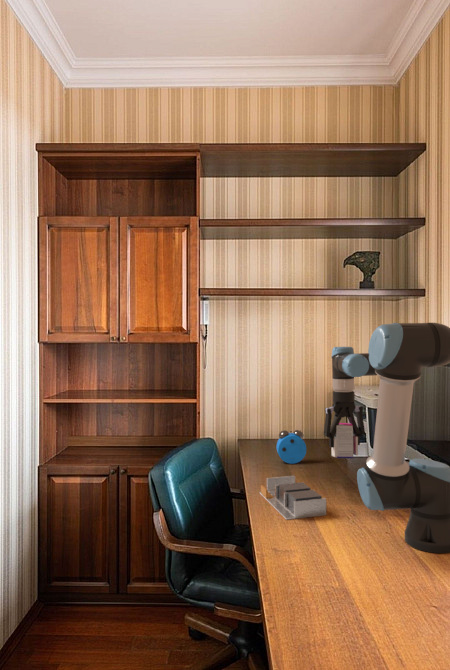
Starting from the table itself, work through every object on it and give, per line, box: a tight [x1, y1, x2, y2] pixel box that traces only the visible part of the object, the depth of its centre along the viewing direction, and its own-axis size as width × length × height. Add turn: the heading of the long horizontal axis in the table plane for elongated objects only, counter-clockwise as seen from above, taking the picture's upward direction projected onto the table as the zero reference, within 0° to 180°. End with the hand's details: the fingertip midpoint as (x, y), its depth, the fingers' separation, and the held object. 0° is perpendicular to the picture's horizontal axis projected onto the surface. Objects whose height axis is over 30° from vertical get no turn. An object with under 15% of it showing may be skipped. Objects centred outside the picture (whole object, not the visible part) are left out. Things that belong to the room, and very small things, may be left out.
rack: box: [259, 475, 327, 521], centre depth 188 cm, size 29×14×6 cm, turn 14°
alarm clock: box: [276, 429, 307, 465], centre depth 244 cm, size 13×6×15 cm, turn 92°
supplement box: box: [335, 422, 354, 459], centre depth 187 cm, size 6×6×12 cm
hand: (344, 455), depth 187 cm, fingers closed on supplement box, 7 cm apart
